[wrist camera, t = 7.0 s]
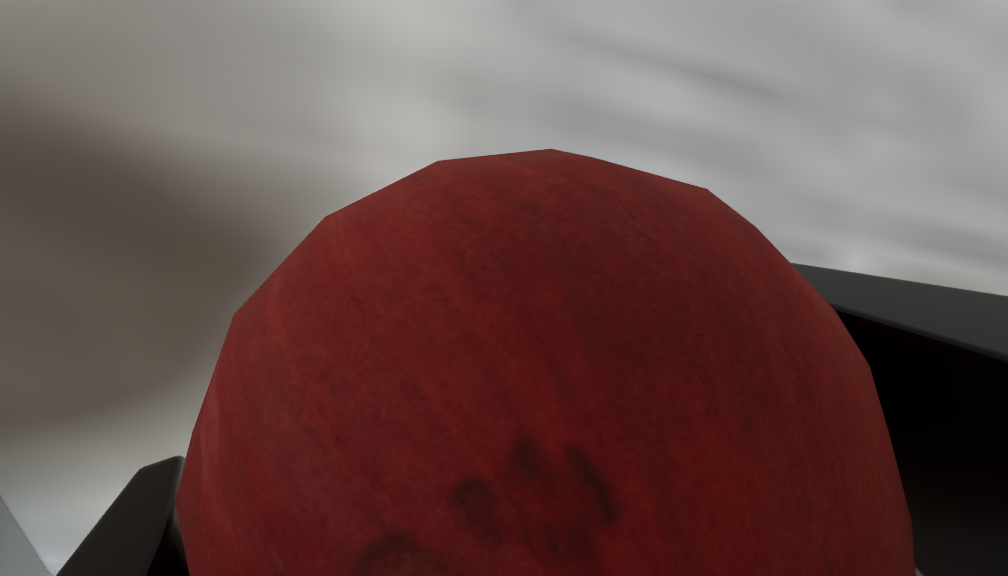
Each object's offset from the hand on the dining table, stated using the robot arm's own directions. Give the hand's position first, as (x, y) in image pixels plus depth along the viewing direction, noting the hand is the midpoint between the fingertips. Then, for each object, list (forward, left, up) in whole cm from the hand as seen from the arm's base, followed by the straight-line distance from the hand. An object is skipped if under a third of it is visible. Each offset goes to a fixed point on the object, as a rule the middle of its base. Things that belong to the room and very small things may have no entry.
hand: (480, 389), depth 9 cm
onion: (0, 0, -2) cm, 2 cm away
